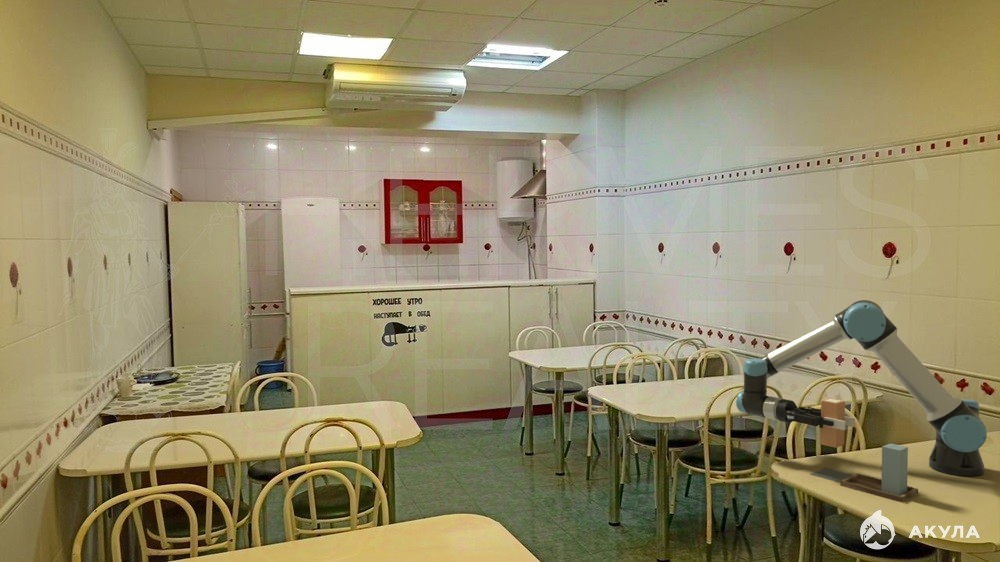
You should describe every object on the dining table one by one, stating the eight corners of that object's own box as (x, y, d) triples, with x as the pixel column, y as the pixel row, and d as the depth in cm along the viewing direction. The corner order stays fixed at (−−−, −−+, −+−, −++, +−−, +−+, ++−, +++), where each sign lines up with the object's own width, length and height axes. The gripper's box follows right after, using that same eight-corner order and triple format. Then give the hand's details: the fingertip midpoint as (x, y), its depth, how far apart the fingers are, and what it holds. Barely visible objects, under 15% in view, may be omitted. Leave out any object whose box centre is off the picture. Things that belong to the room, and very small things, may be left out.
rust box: (828, 441, 226) (829, 398, 225) (844, 444, 222) (845, 400, 221) (820, 444, 223) (821, 400, 222) (836, 447, 219) (836, 403, 218)
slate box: (889, 489, 210) (890, 443, 209) (907, 494, 206) (907, 447, 205) (881, 493, 207) (882, 446, 206) (899, 498, 203) (900, 450, 202)
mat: (825, 469, 230) (825, 467, 230) (856, 477, 222) (856, 475, 222) (809, 476, 224) (809, 474, 224) (840, 484, 216) (840, 482, 216)
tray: (857, 479, 220) (857, 473, 220) (917, 495, 206) (918, 488, 206) (840, 487, 214) (840, 480, 214) (901, 504, 200) (901, 497, 200)
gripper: (795, 416, 242) (863, 430, 224) (765, 425, 231) (834, 441, 213) (795, 394, 242) (864, 407, 223) (765, 402, 231) (834, 417, 212)
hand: (849, 424), depth 218 cm, fingers closed on rust box, 5 cm apart
